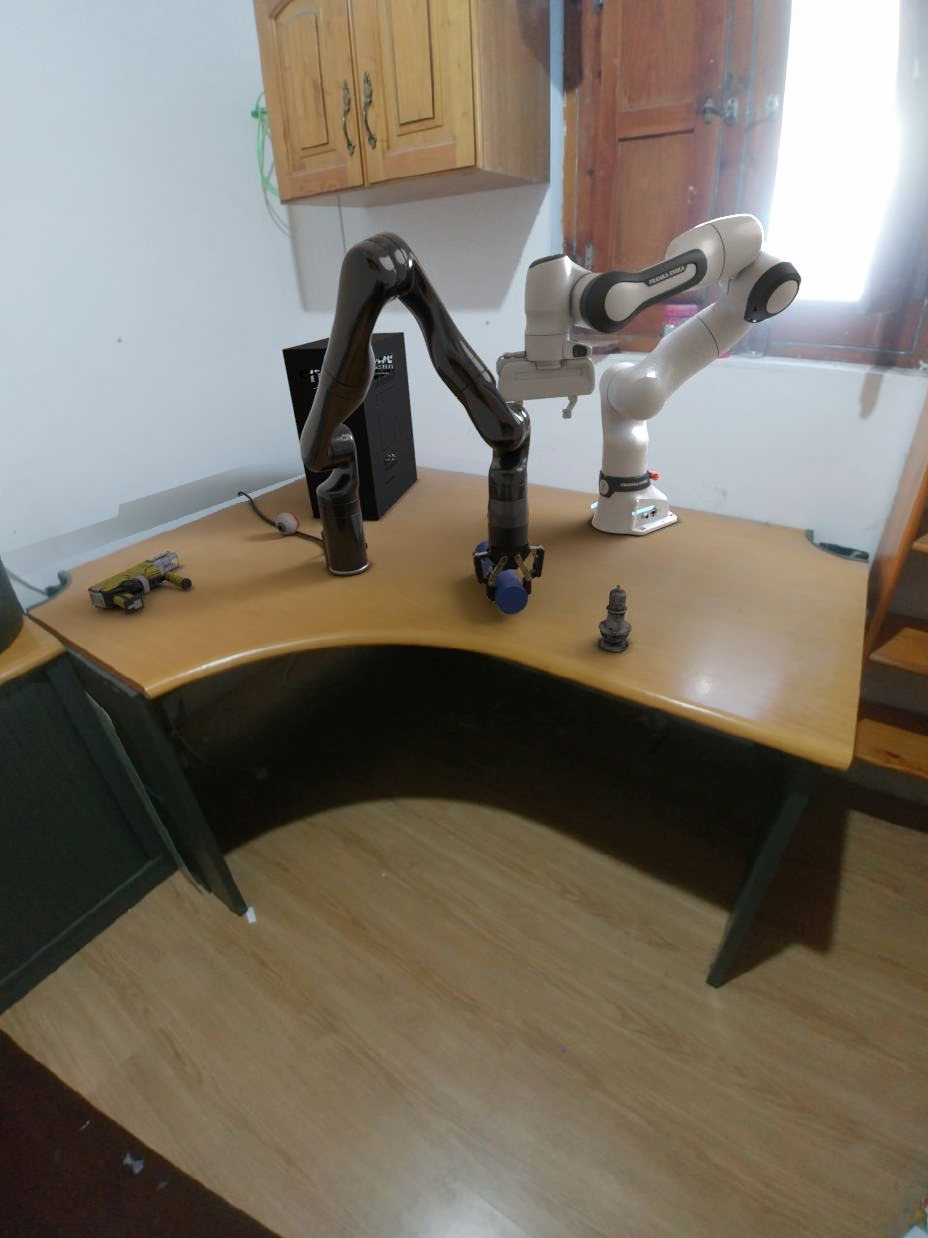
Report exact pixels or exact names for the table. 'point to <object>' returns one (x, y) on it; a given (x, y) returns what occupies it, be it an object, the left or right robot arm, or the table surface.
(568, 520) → the table surface
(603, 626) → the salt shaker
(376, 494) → the cardboard box
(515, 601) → the rod
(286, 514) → the eyeball
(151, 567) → the toy gun
